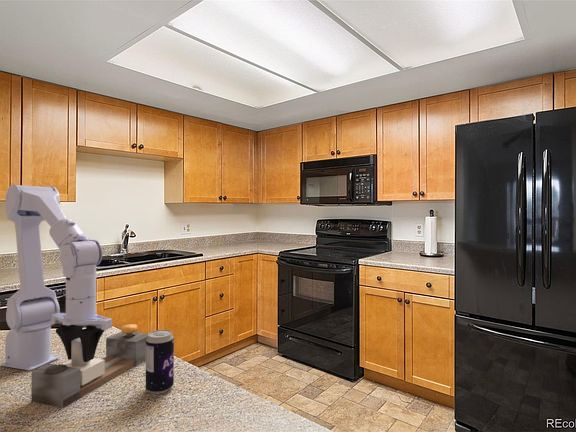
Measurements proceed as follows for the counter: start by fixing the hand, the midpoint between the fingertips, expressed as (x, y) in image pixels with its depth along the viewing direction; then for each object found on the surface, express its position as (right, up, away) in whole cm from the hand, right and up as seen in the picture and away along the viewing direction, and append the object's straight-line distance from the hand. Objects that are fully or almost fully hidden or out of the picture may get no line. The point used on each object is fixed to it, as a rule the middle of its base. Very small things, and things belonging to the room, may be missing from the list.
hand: (80, 359), depth 78 cm
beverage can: (+17, -6, -1) cm, 18 cm away
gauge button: (+4, 0, +14) cm, 15 cm away
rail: (+1, -6, +4) cm, 7 cm away
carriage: (0, -4, 0) cm, 4 cm away
